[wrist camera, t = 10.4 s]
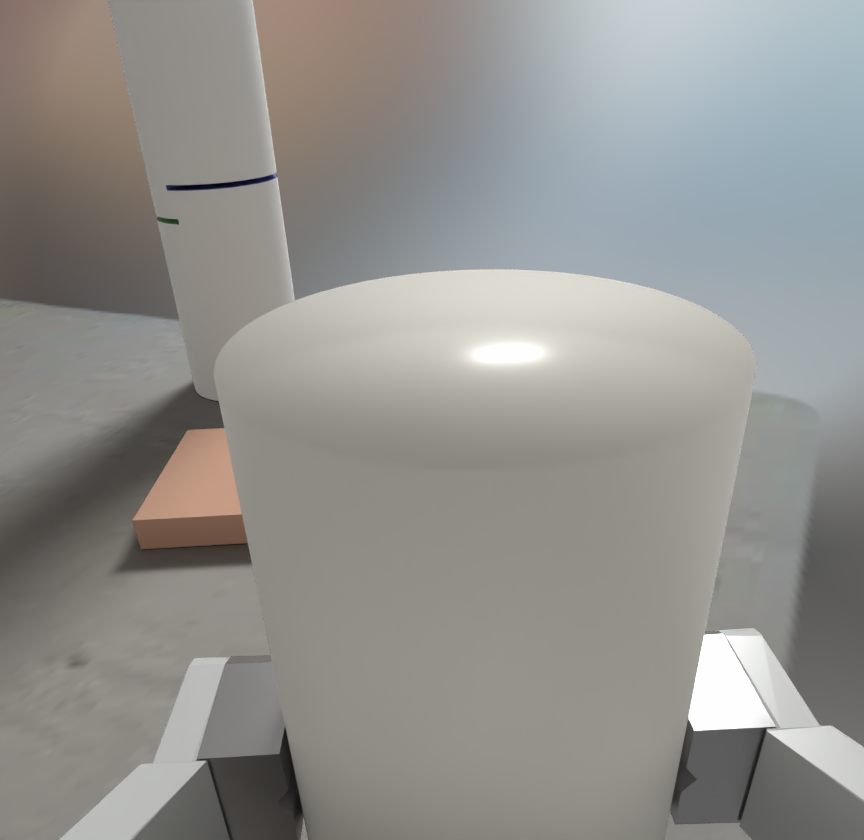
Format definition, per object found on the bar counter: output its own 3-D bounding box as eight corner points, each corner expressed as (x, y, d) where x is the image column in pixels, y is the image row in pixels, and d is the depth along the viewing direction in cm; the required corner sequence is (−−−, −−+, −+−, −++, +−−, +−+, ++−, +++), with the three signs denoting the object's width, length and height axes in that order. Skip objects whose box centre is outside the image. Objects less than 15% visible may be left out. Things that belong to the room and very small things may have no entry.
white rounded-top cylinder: (325, 1202, 10) (103, 499, 4) (351, 845, 14) (261, 276, 9) (674, 1181, 10) (919, 457, 4) (590, 831, 14) (654, 258, 9)
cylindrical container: (276, 405, 41) (192, -109, 29) (172, 397, 43) (54, -92, 31) (320, 360, 47) (265, -79, 36) (228, 355, 49) (146, -67, 37)
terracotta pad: (141, 549, 29) (132, 520, 28) (193, 454, 36) (187, 429, 35) (328, 538, 29) (324, 509, 28) (343, 446, 36) (340, 421, 35)
